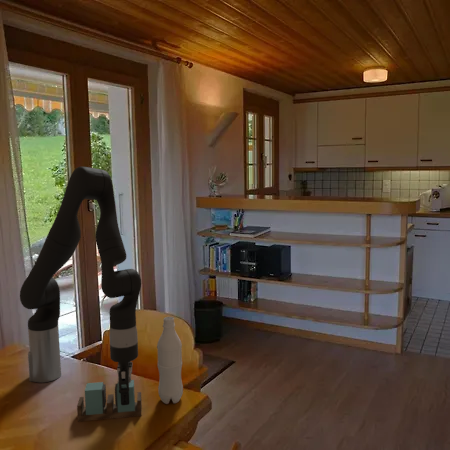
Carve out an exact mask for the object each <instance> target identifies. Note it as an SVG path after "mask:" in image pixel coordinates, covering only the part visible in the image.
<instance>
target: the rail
mask: <svg viewBox="0 0 450 450" xmlns="http://www.w3.org/2000/svg"><path fill="white" fill-rule="evenodd" d="M136 396H137V397H136V398H137V399H136V401H135V411H129V412H118V407H116V406H115V401H114V400H115V394H114V393H113V394H107V397H106V405H105V407H104V410H103V414H93V415H86V407H85V396H79V399H78V400H77V401H78V402H77V405H76V411H77V413H76V414H77V422H87V421H97V420H109V419H110V420H111V419H120V418H121V419H122V418H129V417H130V418H131V417H133V418H134V417H139V416H140V417H142V412H143V411H142V409H143V407H142V406H143V405H142V392H141V391H138V392H137V395H136Z"/></svg>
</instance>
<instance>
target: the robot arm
mask: <svg viewBox="0 0 450 450" xmlns="http://www.w3.org/2000/svg"><path fill="white" fill-rule="evenodd" d="M115 198H116V197H115V192H114V184H113V180H112V177H111V175H110V173H109V172H108V171H107V170H104V169H100V168H96V167H95V168H94V167H89V166H88V167H87V166H77V167H76V168H75V169H74V170H73V172H72V173H71V174H70V177H69V179H68V182H67V185H66V188H65V190H64V195H63V198H62V200H61V203H60V206H59V209H58V212H57V214H56V215H55V218H54V221H53V223H52V225H51V227H50V229H49V231H48V233H47V236H46V238H45V240H44V243H43V246H42V248H41V250H40V252H39V253H38V256H37V258H36V260H35V263H34V265H33V266H32V268H31V270H30V272H28V274H27V276H26V278H25V280H24V281H23V284H22V285H21V288H20V291H19V300H20V304H21V305H22V307H24V308H25V309H28V310H36V311H35V312H34V313H33V315H31V316H30V317H29V318H28V320H27V330H28V333H27V334H28V345H29V351H28V353H27V363H28V373H29V375H28V377H29V382H34V383H40V384H41V383H49V382H53V381H54V380H55V381H56V380H57V379H59V378H60V377H61V376H62V365H61V364H62V363H61V349H60V334H59V333H60V331H59V330H60V329H59V319H60V316H61V291H60V287H59V283H58V281H57V280H56V279H55V278H54V276H55V275H56V274H57V272H59V270H61V268H63V267H64V266H65V264H67V263H68V261H69V260H70V259H71V258H72V256H74V253H75V251H76V249H77V247H78V245H79V243H80V241H81V238H82V237H81V236H82V235H81V234H82V231H81V225H80V221H79V219H78V218H79V217H78V215H79V211H80V207H81V205H82V203H83V202H84V200H92V201H96V202H97V204H98V207H99V212H100V214H99V220H98V223H97V226H96V230H95V244H96V248H97V251H98V255H99V258H100V266H101V280H100V284H101V291H102V292H103V294H104V296H106V297H107V298H109V299H116V298H120V297H122V299H121V300H120V301H119V302H118V303H115V304H113V305H112V306H111V307H110V309H109V353H110V360H111V361H113V362H115V363H117V367H116V368H117V369H116V372H117V383H119V393H121V405H129V390H130V389H129V384H130V383H131V380H132V373H133V361H135V360H136V359H137V358H138V357H139V341H138V340H139V338H138V328H137V316H136V315H137V314H136V310H137V305H138V302H139V297H140V293H141V288H142V279H141V275H140V273H139V272H138V271H137V270H136V269H134V268H127V269H126V268H125V269H121V270H120V269H119V270H115V269H114V267H115V266H118V265H121V264H122V263H124V262H125V261H126V259H127V252H126V248H125V244H124V241H123V238H122V235H121V231H120V228H119V223H118V213H117V206H116V200H115ZM125 384H126V385H127V387H125V388H122V385H125Z"/></svg>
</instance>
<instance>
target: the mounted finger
mask: <svg viewBox="0 0 450 450" xmlns="http://www.w3.org/2000/svg"><path fill="white" fill-rule="evenodd" d="M106 389H107V387H106V383H104V381H98V382H89V383H88V382H87V383H86V385H85V388H84V407H86V415H93V414H103V410H104V407H105V405H106V403H107V390H106Z"/></svg>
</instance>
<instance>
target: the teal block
mask: <svg viewBox="0 0 450 450" xmlns="http://www.w3.org/2000/svg"><path fill="white" fill-rule="evenodd" d="M114 385H115V387H114V400H115V401H114V404H115V406H116V407H118V412H129V411H135V402H136V400H135V398H136V395H135V379H131V383H130V384H129V389H130V390H129V405H121V393H119V383H118V382H117V383H115V384H114ZM125 387H127V385H126V384H125V385H122V388H125Z"/></svg>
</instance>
